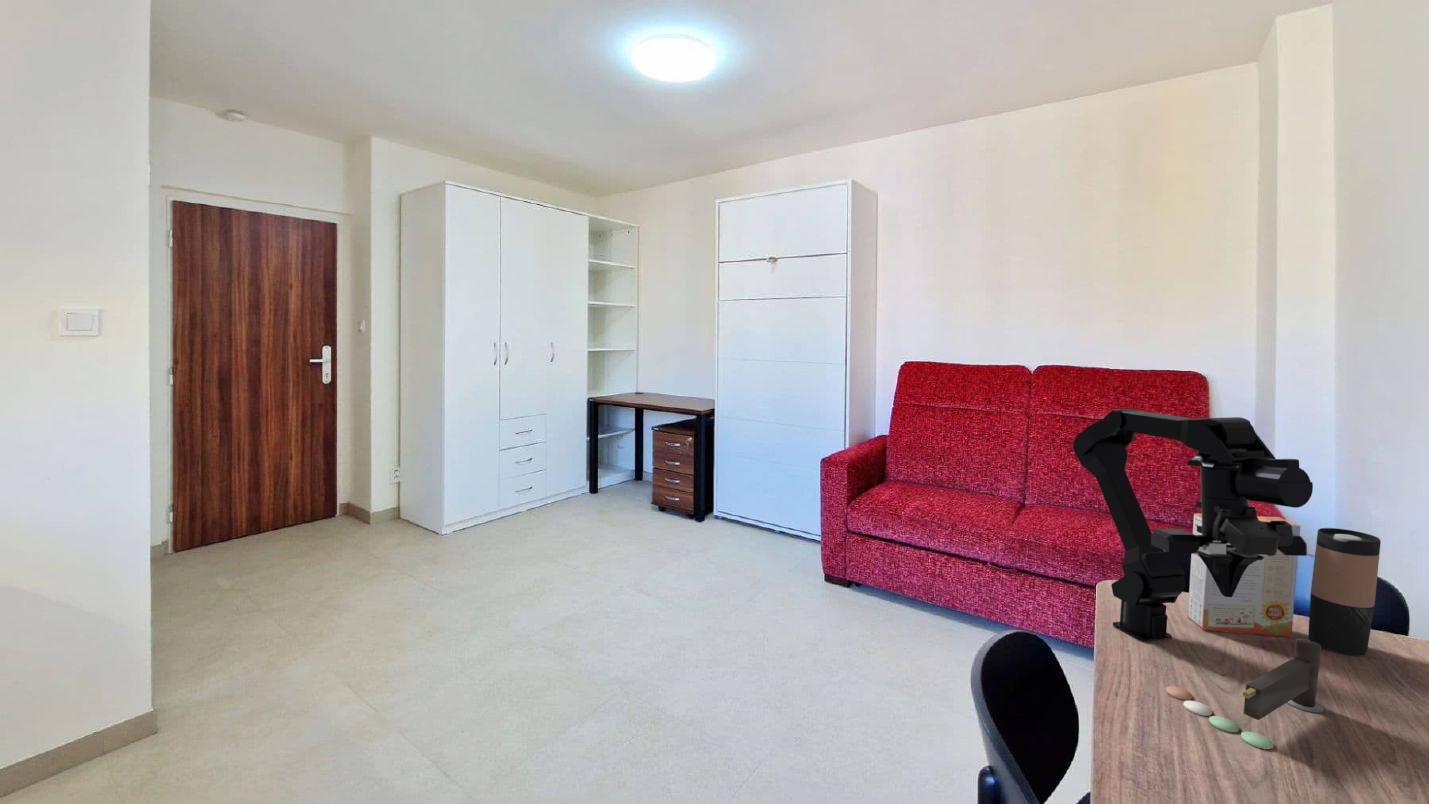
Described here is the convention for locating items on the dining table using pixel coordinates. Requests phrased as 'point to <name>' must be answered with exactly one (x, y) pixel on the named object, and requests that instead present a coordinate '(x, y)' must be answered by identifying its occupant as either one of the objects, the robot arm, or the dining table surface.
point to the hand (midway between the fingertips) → (1227, 596)
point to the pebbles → (1227, 724)
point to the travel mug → (1343, 590)
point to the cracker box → (1246, 594)
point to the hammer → (1286, 682)
